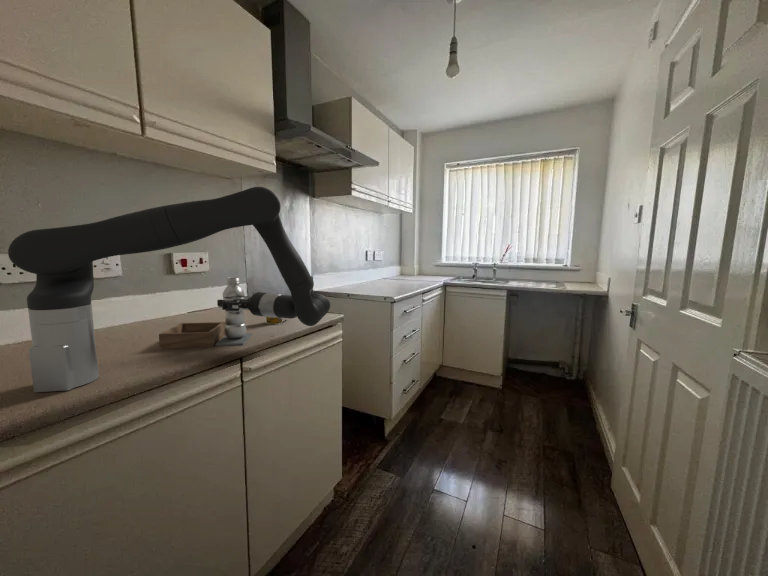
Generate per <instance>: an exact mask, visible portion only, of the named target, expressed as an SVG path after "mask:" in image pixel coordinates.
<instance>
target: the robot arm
mask: <svg viewBox="0 0 768 576" xmlns="http://www.w3.org/2000/svg"><path fill="white" fill-rule="evenodd" d="M281 207H282V206H281V201H280V199H279V197H278V196H277V194H276V193H275V192H274V191H272V190H271V189H269V188H267V187H263V186H253V187H250V188H247V189H243V190H241V191H238V192H234V193H231V194H228V195H224V196H220V197H216V198H211V199H203V200H202V199H201V200H194V201H186V202H179V203H174V204H166V205H161V206H156V207H151V208H146V209H142V210H139V211H134V212H130V213H125V214H122V215H118V216H113V217H111V218H107V219H104V220H100V221H95V222H90V223H83V224H78V225H77V224H76V225H70V226H69V225H68V226H59V227H52V228H42V229H33V230H29V231H26V232H23V233H22V234H20V235H18V236H17V237H15V238H14V239H13V240H12V242H11V243H10V244H9V246H8V249H7V254H8V258H9V261H10V262H11V263H12V264H13V265H14V266H16V267H17V268H18V269H20V270H22V271H24V272H27V273H31V274H35V275H36V276H35V278H36V281H35V286H34V287H33V289H32V290H31V291H30V292H29V294H28V295H27V296H26V304H27V311H28V319H29V327H30V336H31V344H32V345H31V346H30V347H29V348H28V356H29V365H30V372H31V379H32V387H33V393H45V392H46V393H47V392H48V393H50V392H64V391H70V390H72V389H75V388H77V387H81V386H84V385H86V384H87V385H88V384H90V383H92V382H94V381H96V380H97V379H98V378H99V376H100V375H99V365H98V355H97V347H96V346H97V345H96V338H95V337H96V334H95V329H94V328H95V326H94V317H93V316H94V314H93V306H92V295H93V292H94V286H95V283H94V282H95V281H94V279H95V278H94V263H93V262H95V261H97V260H101V259H106V258H111V257H115V256H117V257H118V256H123V255H135V254H142V253H149V252H150V253H151V252H154V251H155V252H156V251H162V250H166V249H170V248H174V247H179V246H183V245H186V244H190V243H193V242H196V241H200V240H202V239H205V238H207V237H208V238H209V237H210V236H212V235H215V234H218V233H219V232H222V231H225V230H229V229H234V228H239V227H247V226H248V227H249V226H253V228H254V229H255V230H256V232H257V233H258V234H259V236H260V237H261V239H262V240H263V242H264V243H265V245H266V246H267V248H268V250H269V252H270V254H271V256H272V258H273V261H274V263H275V265H276V267H277V269H278V271H279V273H280V275H281V277H282V279H283V280H284V283H285V285H286V286H287V288H288V289H289V291H290V295H289V294H280V293H276V292H275V293H274V292H262V291H257V292H255V293H253V294H252V295H249V296H244V298H235V299H234V300H223V299H217V302H216V303H217V307H218V308H221V310H224V311H225V310H232V311H239V310H244V311H249V312H250V313H251V314H252V315H254V316H256V317H264V318H266V317H273V318H275V317H280V318H282V319H295V318H297V319H298V321H299V322H300V323H302V324H303V325H305V326H307V327H314V326H316V325H317V324H318V323H319V322H320V321H321V320H322V319H323V318H324V317H325V316H326V315H327V314H328V313H329V311H330V309H331V302H330V300H329V298H328V297H327V296H326V295H323V294H321V293H316V292H312V290H313V288H314V287H315V285H314V284H315V283H314V280H313V278H312V276H311V273H310V271H309V270H308V268H307V266H306V264H305V262H304V261H303V259H302V257H301V255H300V254H299V252H298V251H297V249H296V247H295V246H294V245H293V243H292V241H291V240H290V238H289V236H288V234H287V232H286V230H285V227H284V226H283V223H282V220H281V217H280V212H281ZM311 292H312V293H311ZM237 301H239V302H237Z"/></svg>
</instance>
